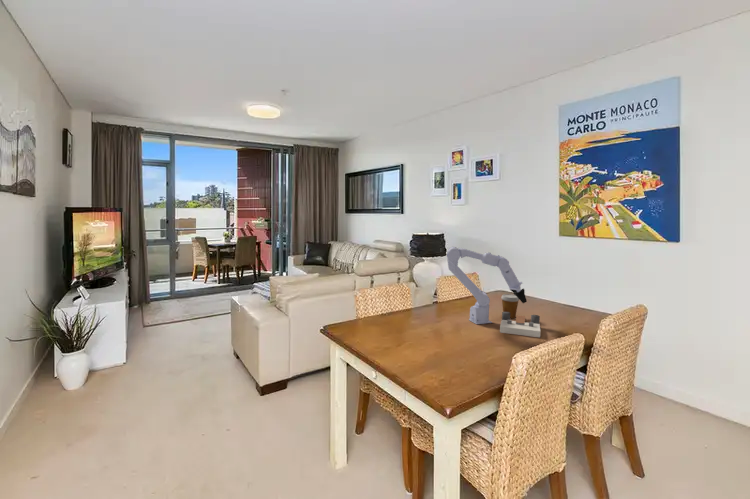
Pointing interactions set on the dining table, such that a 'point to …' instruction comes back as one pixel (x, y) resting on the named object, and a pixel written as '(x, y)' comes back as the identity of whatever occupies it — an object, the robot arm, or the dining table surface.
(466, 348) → the dining table surface
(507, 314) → the post
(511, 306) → the disposable coffee cup
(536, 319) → the post
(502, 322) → the panel
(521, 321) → the tan rectangular block
